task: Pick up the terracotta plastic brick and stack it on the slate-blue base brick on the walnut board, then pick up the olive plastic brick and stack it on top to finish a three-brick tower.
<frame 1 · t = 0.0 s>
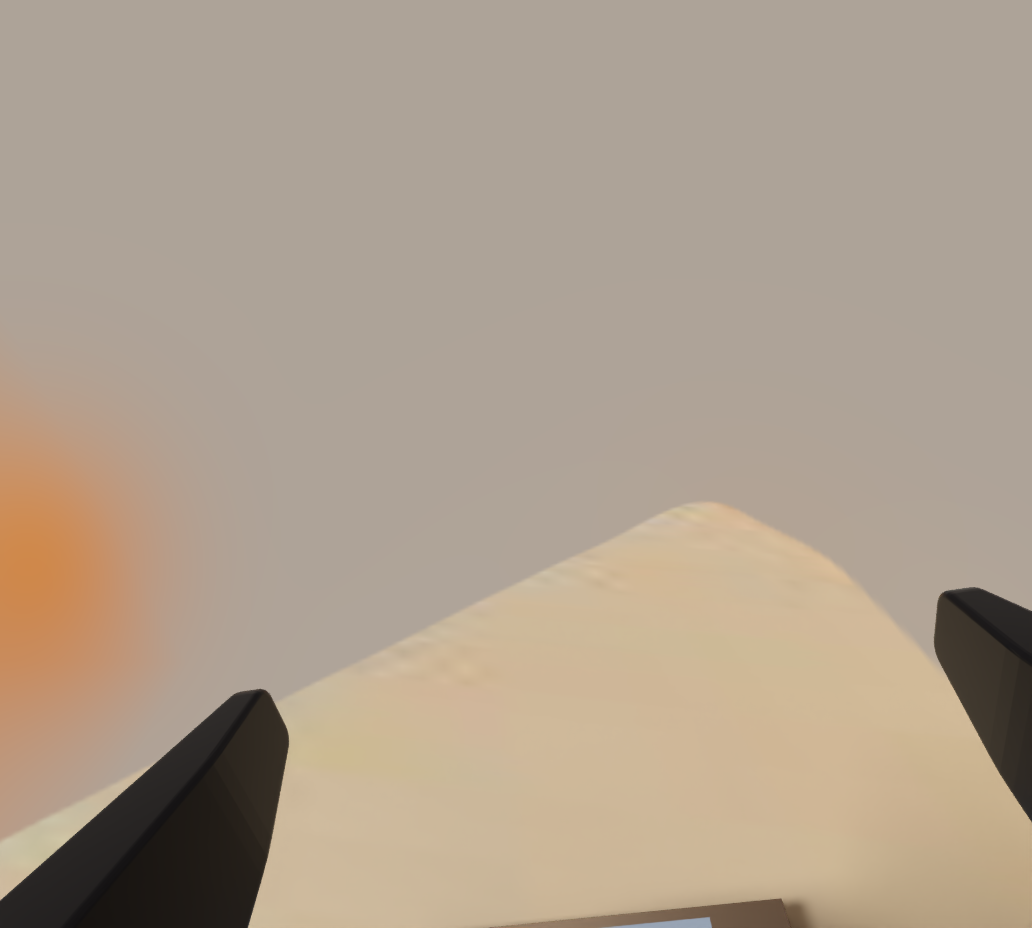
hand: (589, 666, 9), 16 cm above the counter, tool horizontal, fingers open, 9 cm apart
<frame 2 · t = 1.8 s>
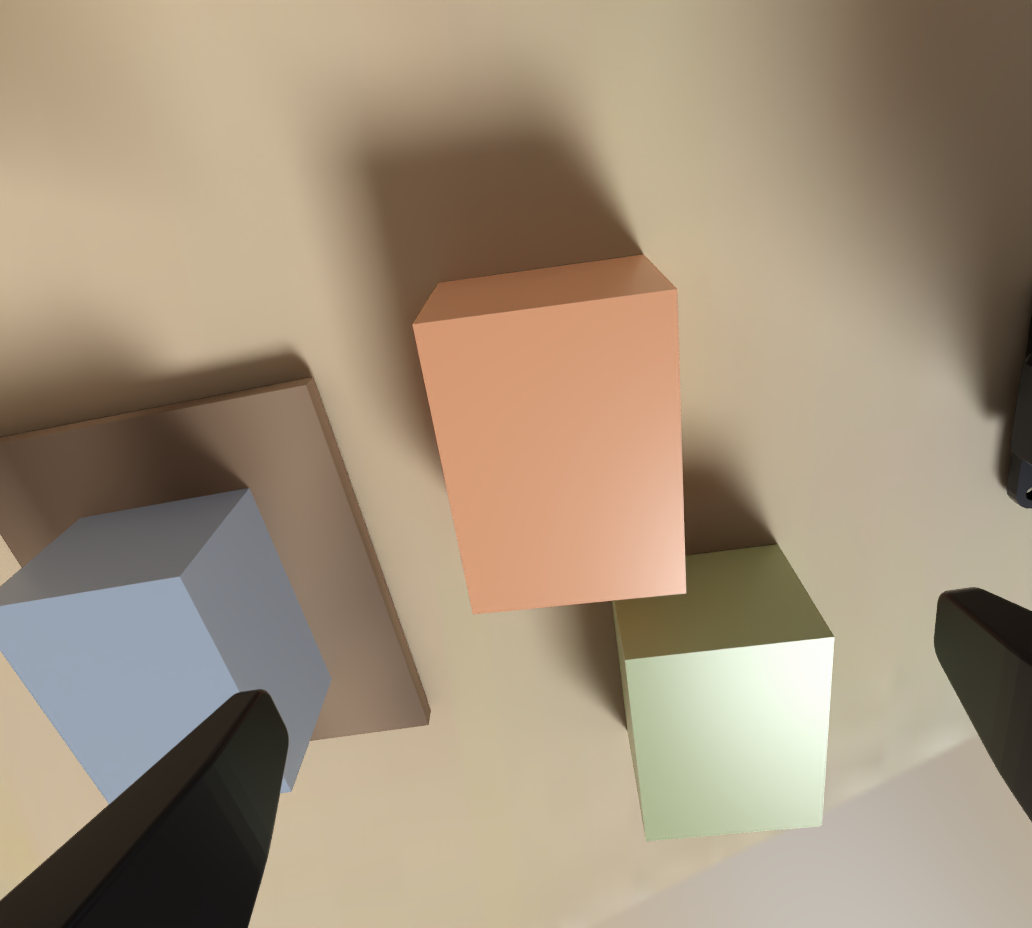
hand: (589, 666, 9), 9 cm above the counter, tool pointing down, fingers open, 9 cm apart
base brick: (214, 603, 20), point 1 cm above the counter, touching walnut board
walnut board: (222, 591, 20), on the counter
terracotta brick: (555, 403, 18), on the counter
olive brick: (696, 645, 21), on the counter
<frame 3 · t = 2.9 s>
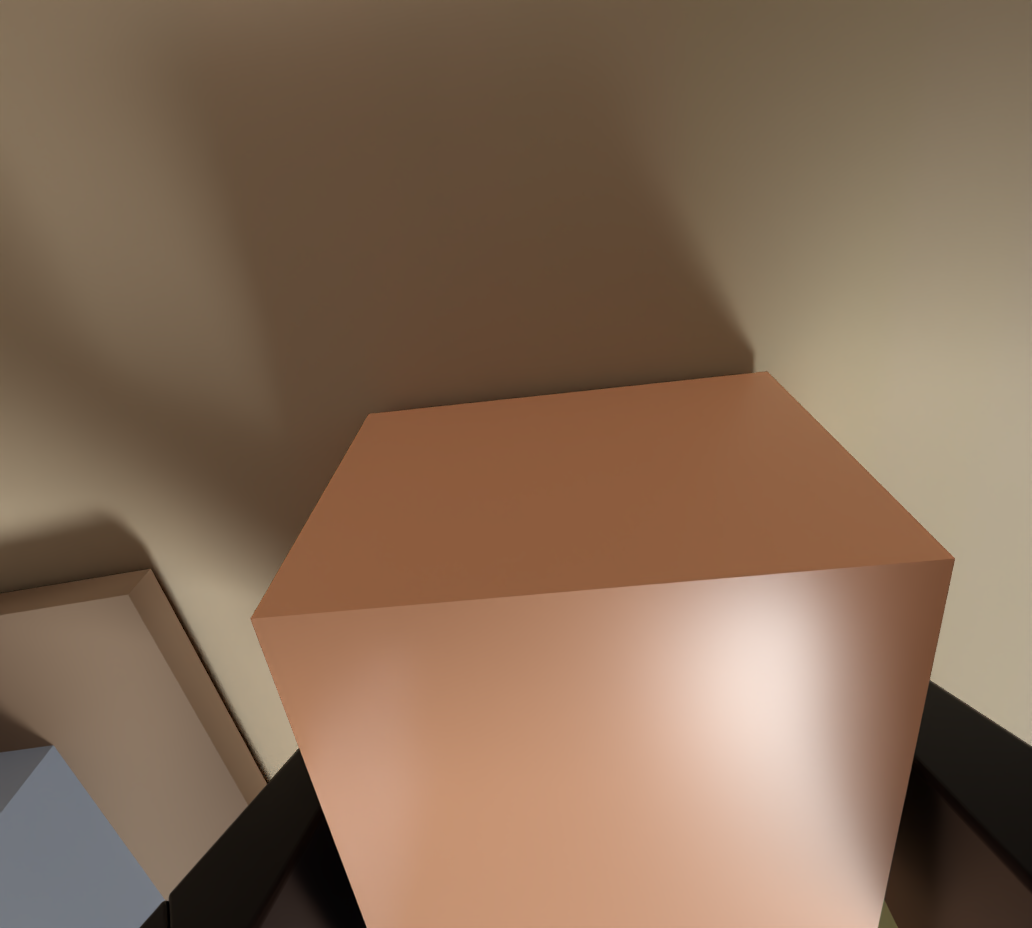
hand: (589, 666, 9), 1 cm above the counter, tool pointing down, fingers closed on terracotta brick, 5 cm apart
base brick: (25, 894, 12), point 1 cm above the counter, touching walnut board
walnut board: (46, 862, 13), on the counter
terracotta brick: (584, 613, 10), on the counter, touching gripper
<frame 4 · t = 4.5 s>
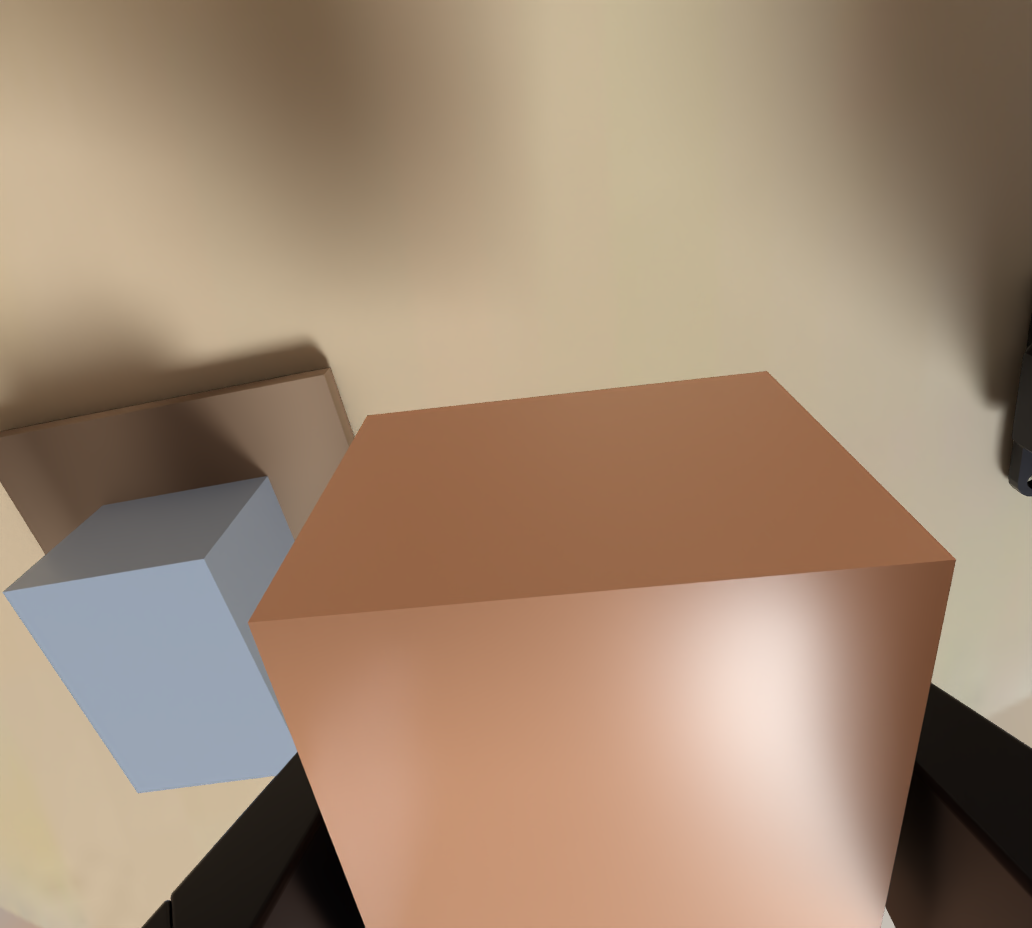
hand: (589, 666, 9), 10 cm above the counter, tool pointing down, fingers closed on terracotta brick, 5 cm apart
base brick: (231, 589, 20), point 1 cm above the counter, touching walnut board
walnut board: (239, 578, 21), on the counter
terracotta brick: (584, 615, 10), point 9 cm above the counter, touching gripper
when the fingers open (7 cm above the counter, at t = 6.2 s): terracotta brick drops 1 cm, resting on base brick.
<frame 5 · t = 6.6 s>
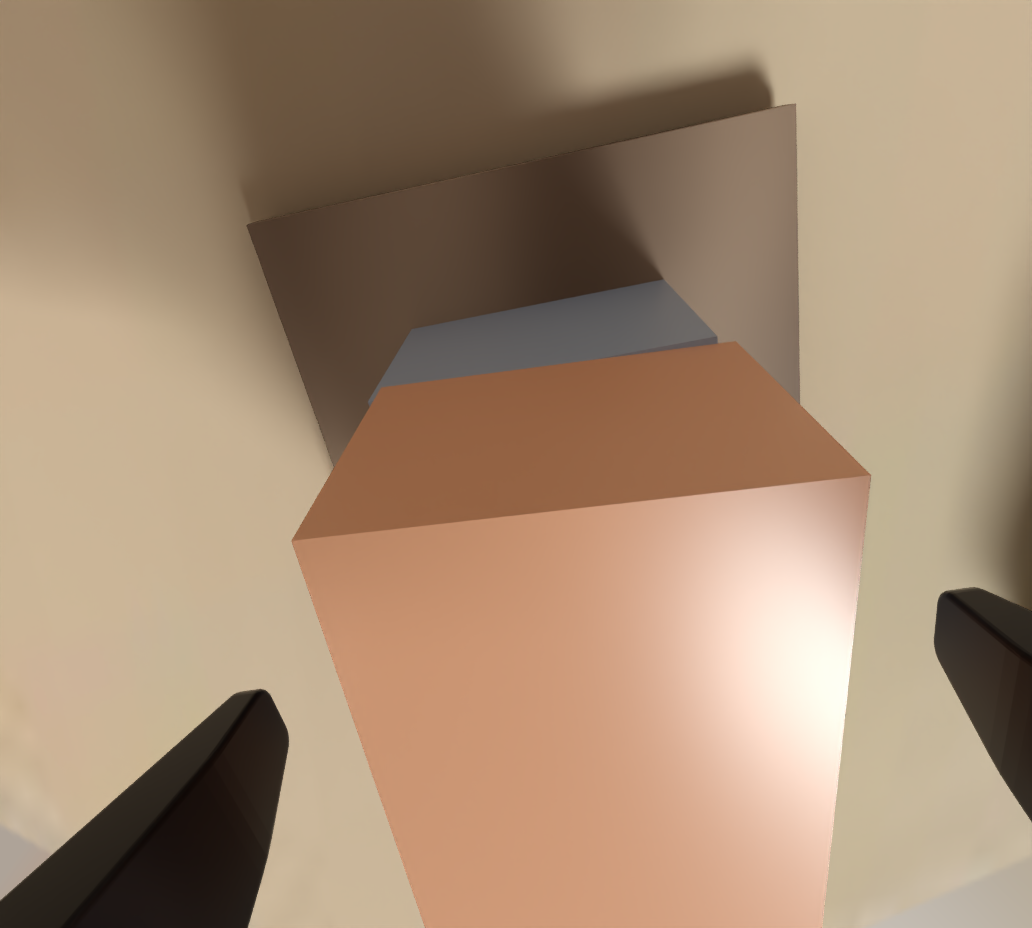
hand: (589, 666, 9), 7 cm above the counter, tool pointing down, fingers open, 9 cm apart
base brick: (565, 462, 14), point 1 cm above the counter, touching terracotta brick, walnut board
walnut board: (563, 450, 15), on the counter
terracotta brick: (579, 568, 11), point 5 cm above the counter, touching base brick
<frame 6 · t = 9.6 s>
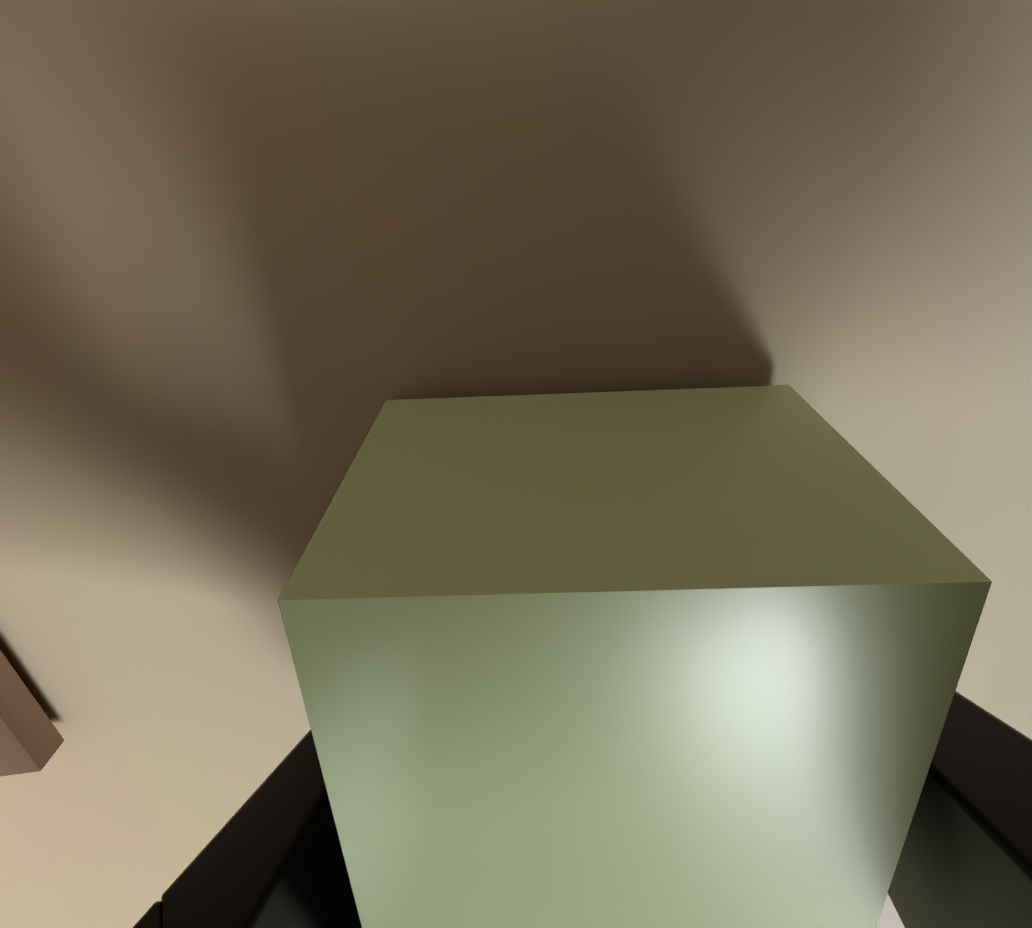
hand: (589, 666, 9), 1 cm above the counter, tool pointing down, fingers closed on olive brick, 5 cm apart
olive brick: (585, 615, 10), on the counter, touching gripper
when the fingers open (11 cm above the counter, at t = 13.1 s): olive brick drops 1 cm, resting on terracotta brick.
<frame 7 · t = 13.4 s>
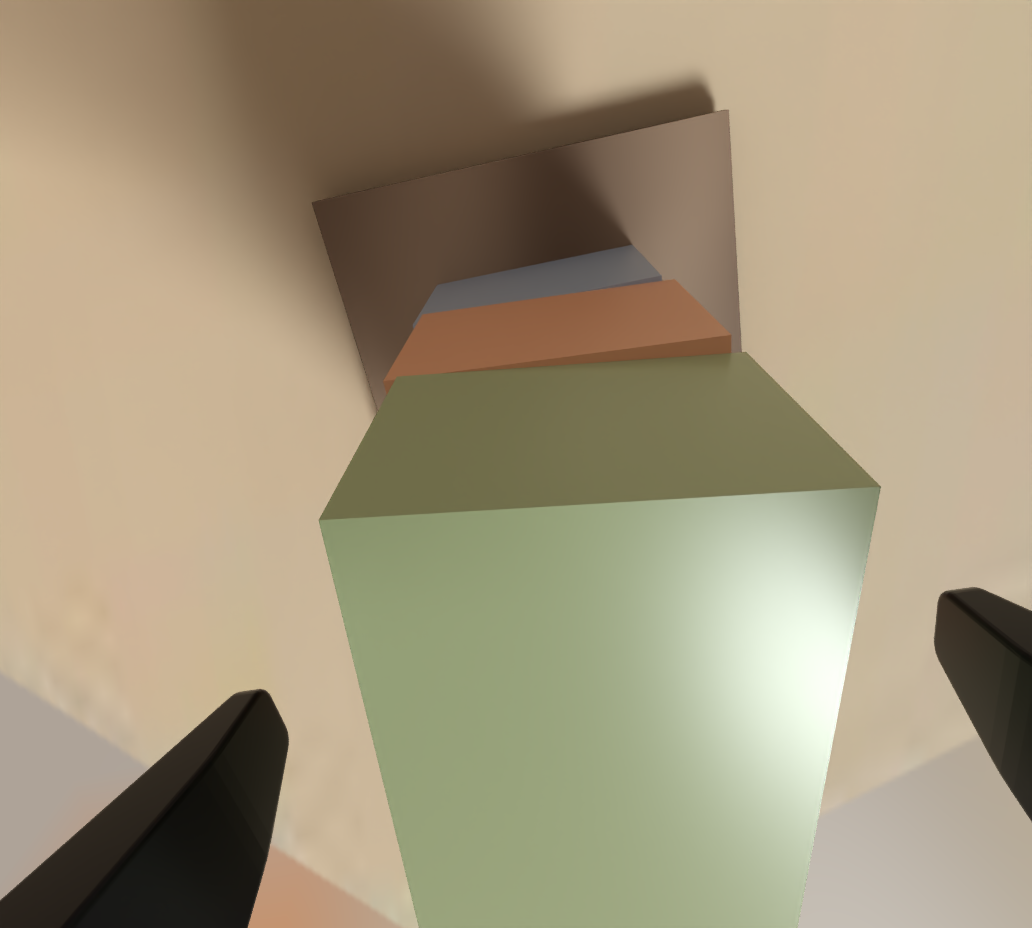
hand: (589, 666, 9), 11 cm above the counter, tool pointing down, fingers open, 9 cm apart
base brick: (557, 393, 18), point 1 cm above the counter, touching terracotta brick, walnut board
walnut board: (556, 386, 19), on the counter
terracotta brick: (566, 455, 15), point 5 cm above the counter, touching base brick, olive brick
olive brick: (578, 565, 11), point 9 cm above the counter, touching terracotta brick
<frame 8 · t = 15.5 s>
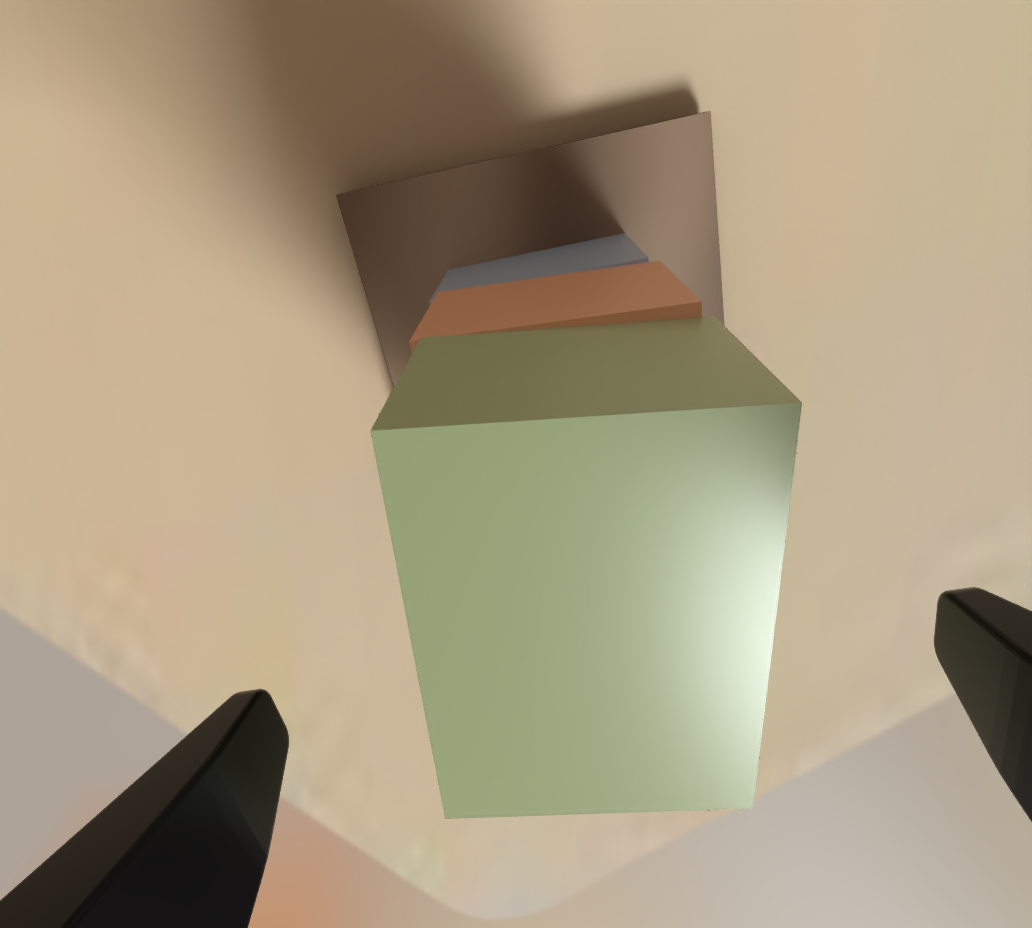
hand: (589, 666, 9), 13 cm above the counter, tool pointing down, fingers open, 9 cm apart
base brick: (557, 369, 20), point 1 cm above the counter, touching terracotta brick, walnut board
walnut board: (556, 363, 20), on the counter
terracotta brick: (564, 419, 16), point 5 cm above the counter, touching base brick, olive brick
olive brick: (574, 504, 13), point 9 cm above the counter, touching terracotta brick
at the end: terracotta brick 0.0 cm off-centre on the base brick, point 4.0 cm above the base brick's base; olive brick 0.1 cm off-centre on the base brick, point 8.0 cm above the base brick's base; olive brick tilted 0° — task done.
